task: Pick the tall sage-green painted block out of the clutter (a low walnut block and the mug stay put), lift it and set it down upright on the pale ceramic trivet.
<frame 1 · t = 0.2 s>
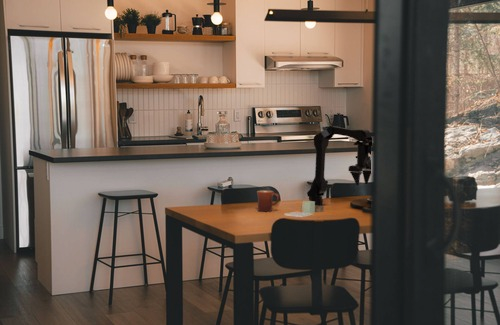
hand: (362, 184, 362), 14 cm above the table, fingers open, 9 cm apart
walnut block: (317, 211, 366), on the table
sage block: (308, 213, 359), on the table
trivet: (298, 215, 352), on the table
mug: (267, 211, 363), on the table
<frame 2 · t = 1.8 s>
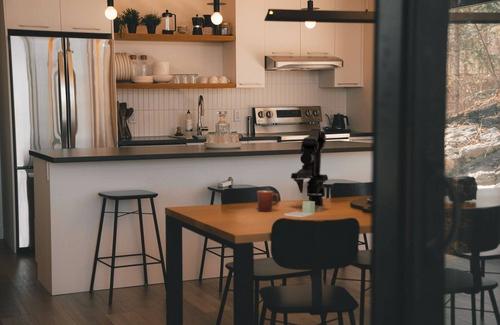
hand: (308, 193, 358), 10 cm above the table, fingers open, 9 cm apart
nothing on the table moved.
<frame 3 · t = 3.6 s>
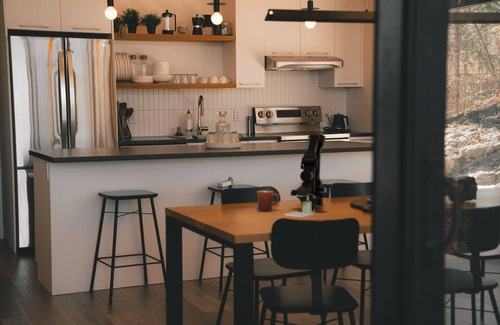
hand: (308, 210, 359), 1 cm above the table, fingers closed on sage block, 4 cm apart
sage block: (308, 213, 359), on the table, touching gripper
everything else where it was.
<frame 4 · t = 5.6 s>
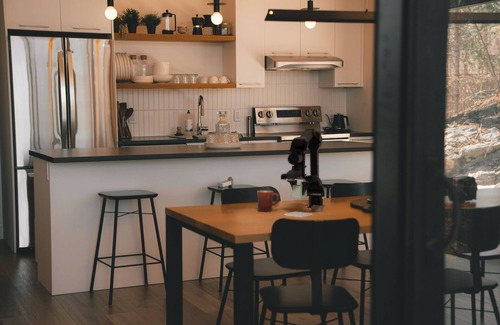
hand: (298, 194, 351), 10 cm above the table, fingers closed on sage block, 4 cm apart
sage block: (298, 197, 351), point 9 cm above the table, touching gripper
everything else where it was.
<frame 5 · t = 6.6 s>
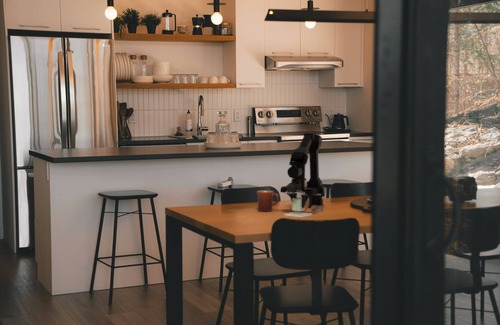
hand: (298, 207, 351), 4 cm above the table, fingers closed on sage block, 4 cm apart
sage block: (298, 210, 351), point 2 cm above the table, touching gripper
everything else where it was.
when the fingers open (3 cm above the table, at t = 7.5 s): sage block stays where it is, resting on trivet.
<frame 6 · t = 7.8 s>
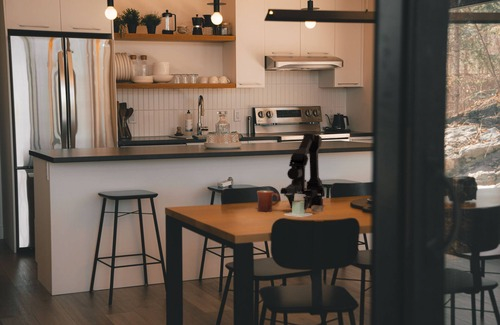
hand: (298, 209, 351), 3 cm above the table, fingers open, 7 cm apart
sage block: (298, 213, 351), point 1 cm above the table, touching trivet
everything else where it was.
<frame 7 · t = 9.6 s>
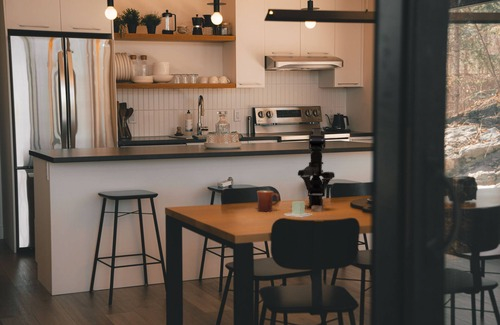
hand: (315, 191, 357), 12 cm above the table, fingers open, 9 cm apart
nothing on the table moved.
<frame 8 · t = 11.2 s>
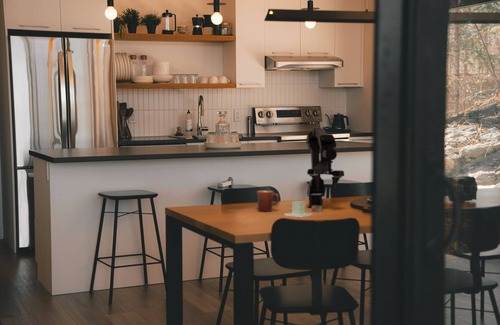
hand: (325, 189, 359), 12 cm above the table, fingers open, 9 cm apart
nothing on the table moved.
at the end: sage block inside the target area on the trivet (0.0 cm from its centre), point 0.8 cm above the trivet's base; sage block tilted 0°; the gripper is holding nothing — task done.
